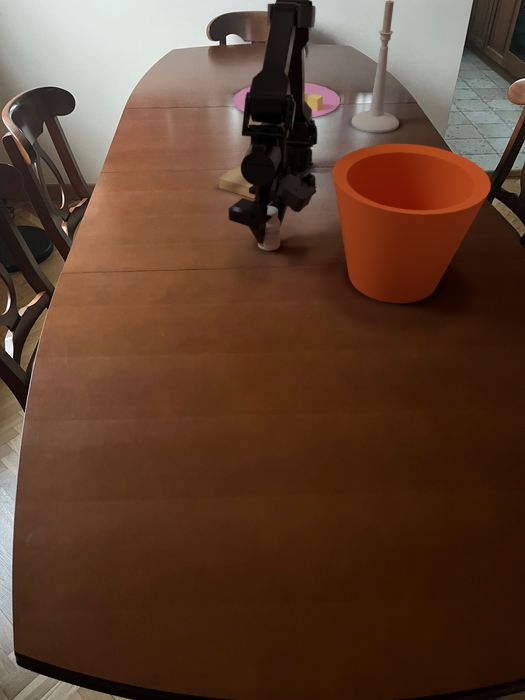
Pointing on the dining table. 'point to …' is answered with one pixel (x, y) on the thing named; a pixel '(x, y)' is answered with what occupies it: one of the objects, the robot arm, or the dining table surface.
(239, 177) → the birch board
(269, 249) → the pill bottle
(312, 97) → the platter
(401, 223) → the flowerpot
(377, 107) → the candlestick
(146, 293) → the dining table surface
